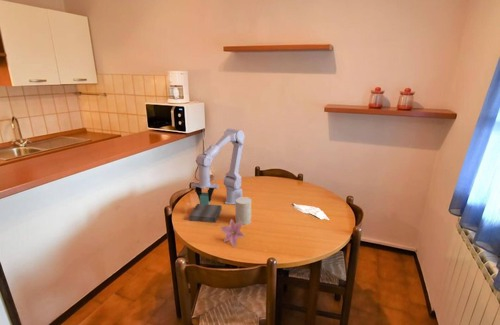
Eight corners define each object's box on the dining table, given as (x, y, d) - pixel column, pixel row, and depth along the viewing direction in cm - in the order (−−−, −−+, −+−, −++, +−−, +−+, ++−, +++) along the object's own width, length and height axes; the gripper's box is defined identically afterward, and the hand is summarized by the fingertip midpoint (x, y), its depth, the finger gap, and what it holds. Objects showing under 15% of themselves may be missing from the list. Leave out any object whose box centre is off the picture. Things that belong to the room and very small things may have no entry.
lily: (220, 236, 133) (214, 225, 127) (240, 223, 136) (236, 212, 130) (231, 255, 125) (226, 245, 119) (253, 241, 128) (249, 230, 122)
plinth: (221, 210, 157) (221, 205, 156) (215, 222, 143) (215, 217, 142) (197, 208, 158) (197, 203, 157) (189, 220, 145) (189, 215, 144)
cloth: (336, 219, 151) (337, 215, 150) (318, 225, 144) (319, 221, 143) (303, 201, 171) (304, 197, 171) (286, 206, 164) (286, 202, 164)
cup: (239, 226, 140) (239, 205, 137) (233, 219, 147) (233, 198, 143) (253, 222, 144) (254, 201, 140) (246, 216, 151) (246, 195, 147)
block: (210, 201, 152) (210, 192, 150) (208, 204, 147) (207, 196, 146) (202, 200, 152) (202, 192, 151) (200, 204, 148) (199, 195, 146)
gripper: (188, 178, 142) (189, 202, 146) (215, 180, 140) (216, 204, 144) (193, 173, 149) (194, 197, 153) (219, 175, 147) (219, 198, 151)
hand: (205, 200), depth 149 cm, fingers closed on block, 4 cm apart
